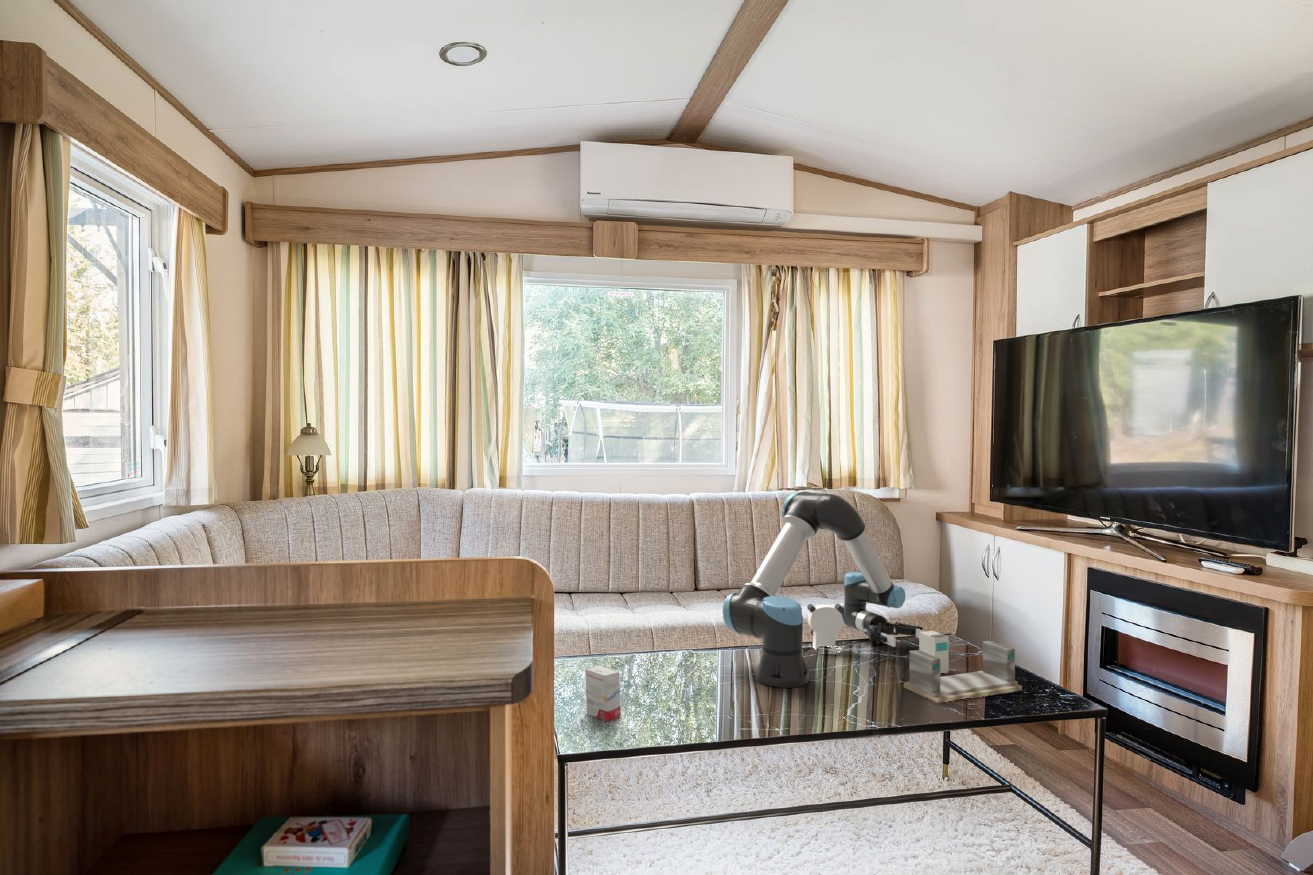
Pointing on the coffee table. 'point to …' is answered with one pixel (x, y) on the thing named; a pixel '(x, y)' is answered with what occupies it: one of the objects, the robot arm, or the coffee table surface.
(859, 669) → the coffee table surface
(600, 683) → the ink box
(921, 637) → the block
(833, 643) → the panda figurine
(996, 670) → the board
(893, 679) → the coffee table surface
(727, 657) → the coffee table surface
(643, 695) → the coffee table surface
